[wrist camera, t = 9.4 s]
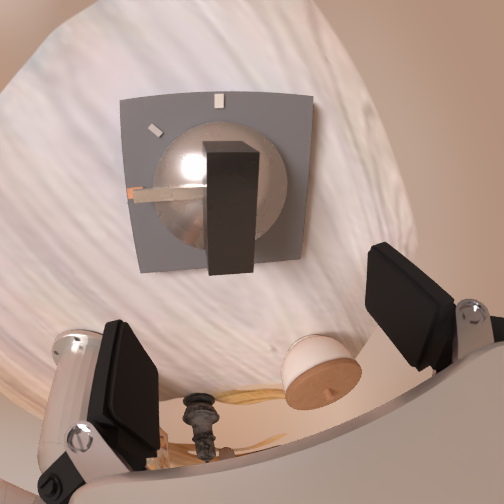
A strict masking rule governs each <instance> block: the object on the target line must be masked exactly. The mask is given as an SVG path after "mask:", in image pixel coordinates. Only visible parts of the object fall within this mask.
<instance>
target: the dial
mask: <svg viewBox="0 0 504 504" xmlns="http://www.w3.org/2000/svg"><path fill="white" fill-rule="evenodd" d="M286 194H287V173H286V169H285V165H284V162H283V160H282V158H281V156H280V154H279V152H278V151H277V149H276V148H275V147H274V145H273V144H272V143H271V142H270V141H269V140H268V139H267V138H266V137H265V136H263V135H262V134H261V133H259V132H258V131H256V130H254V129H252V128H250V127H247V126H245V125H242V124H238V123H234V122H227V121H214V122H208V123H203V124H200V125H197V126H194V127H192V128H190V129H189V130H187V131H185V132H184V133H182V134H181V135H179V136H178V137H177V138H176V139H175V140H174V141H173V142H172V143H171V144H170V145H169V146H168V148H167V149H166V150H165V152H164V154H163V155H162V157H161V158H160V160H159V163H158V165H157V167H156V170H155V174H154V179H153V188H144V189H134V190H133V198H134V203H144V202H154V205H155V208H156V211H157V213H158V216H159V218H160V219H161V221H162V223H163V224H164V226H165V227H166V228H167V229H168V230H169V232H170V233H172V234H173V235H174V236H175V237H176V238H178V239H179V240H180V241H182V242H184V243H186V244H187V245H189V246H192V247H195V248H198V249H202V250H205V251H206V259H207V266H208V273H209V276H212V275H226V274H240V273H253V268H254V251H255V240H256V239H258V238H259V237H261V236H262V235H263V234H264V233H265V232H266V231H267V230H268V229H269V228H270V227H271V226H272V225H273V224H274V222H275V221H276V220H277V218H278V216H279V215H280V213H281V211H282V208H283V206H284V203H285V199H286Z"/></svg>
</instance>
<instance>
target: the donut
mask: <svg viewBox="0 0 504 504" xmlns="http://www.w3.org/2000/svg"><path fill="white" fill-rule="evenodd" d="M219 458H220V461H221V460H226V459H230V458H235V454H234V451H233V450H232V449H231V448H228V447H224V448H222V449H221V450H220V452H219Z"/></svg>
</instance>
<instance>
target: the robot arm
mask: <svg viewBox="0 0 504 504" xmlns="http://www.w3.org/2000/svg"><path fill="white" fill-rule="evenodd" d="M365 306H366V309H367V311H368V312H369V314H370V315H371V316H372V317H373V318H374V320H375V321H376V322H377V323H378V325H379V326H380V327H381V328H382V330H383V331H384V332H385V333H386V335H387V336H388V337H389V338H390V340H391V341H392V342H393V344H394V345H395V346H396V347H397V349H398V350H399V351H400V353H401V354H402V355H403V357H404V358H405V359H406V360H407V362H408V363H409V364H410V365H411V366H412V367H416V369H417V370H418V371H419V372H420V371H421V370H423V369H425V368H426V367H428V366H429V365H430V366H431V367H432V369H433V374H432V377H431V378H429V379H428V380H426V381H424V382H423V383H421V384H419V385H418V386H416V387H414V388H413V389H411V390H409V391H407V392H406V393H404V394H402V395H400V396H398V397H396V398H395V399H393V400H391V401H389V402H387V403H385V404H383V405H381V406H379V407H377V408H375V409H373V410H371V411H369V412H367V413H365V414H363V415H360V416H358V417H356V418H354V419H351V420H350V421H347V422H345V423H342V424H340V425H337V426H335V427H332V428H330V429H328V430H325V431H323V432H320V433H317V434H314V435H311V436H309V437H306V438H303V439H300V440H297V441H294V442H291V443H288V444H285V445H281V446H278V447H274V448H271V449H267V450H264V451H260V452H256V453H252V454H248V455H244V456H240V457H235V458H230V459H226V460H221V461H215V462H210V463H204V464H197V465H190V466H183V467H176V468H167V469H157V470H151V469H150V468H149V467H148V466H147V465H146V464H147V460H146V458H156V457H157V450H159V449H160V429H159V397H158V371H157V368H156V366H155V365H154V363H153V362H152V360H151V359H150V357H149V356H148V354H147V353H146V351H145V350H144V348H143V347H142V345H141V344H140V342H139V341H138V339H137V337H136V336H135V334H134V333H133V331H132V329H131V328H130V326H129V325H128V323H127V322H123V321H122V320H115V321H111V322H107V323H106V325H105V328H104V332H103V335H100V334H97V333H94V332H91V331H85V330H71V331H66V332H64V333H62V334H60V335H59V336H58V337H57V338H56V339H55V341H54V344H53V346H52V356H53V359H54V361H55V363H56V365H57V369H56V372H55V376H54V379H53V383H52V387H51V390H50V394H49V398H48V402H47V406H46V410H45V415H44V420H43V424H42V429H41V435H40V440H39V446H38V454H37V458H38V465H39V468H40V471H41V473H42V475H41V476H40V478H39V480H38V493H39V495H40V496H38V495H36V494H33V493H31V492H28V491H26V490H24V489H22V488H19V487H17V486H15V485H13V484H11V483H9V482H6V481H5V480H3V479H0V504H504V318H502V317H495V316H490V314H489V312H488V309H487V308H486V307H485V306H484V305H483V304H482V303H481V302H479V301H477V300H474V299H464V300H461V301H460V302H459V303H458V304H457V306H456V305H455V304H454V299H453V298H452V297H451V296H450V295H449V294H448V293H447V292H446V291H444V290H443V289H442V288H441V287H440V286H439V285H438V284H437V283H435V282H434V281H433V280H432V279H431V278H430V277H428V276H427V275H426V274H425V273H424V272H423V271H421V270H420V269H419V268H418V267H417V266H415V265H414V264H413V263H412V262H411V261H409V260H408V259H407V258H406V257H404V256H403V255H402V254H401V253H399V252H398V251H397V250H396V249H394V248H393V247H392V246H390V245H389V244H388V243H386V242H382V243H379V244H376V245H373V246H372V247H371V250H370V251H369V252H368V263H367V282H366V296H365Z"/></svg>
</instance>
